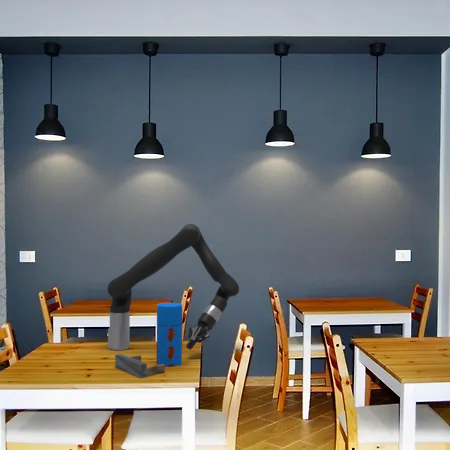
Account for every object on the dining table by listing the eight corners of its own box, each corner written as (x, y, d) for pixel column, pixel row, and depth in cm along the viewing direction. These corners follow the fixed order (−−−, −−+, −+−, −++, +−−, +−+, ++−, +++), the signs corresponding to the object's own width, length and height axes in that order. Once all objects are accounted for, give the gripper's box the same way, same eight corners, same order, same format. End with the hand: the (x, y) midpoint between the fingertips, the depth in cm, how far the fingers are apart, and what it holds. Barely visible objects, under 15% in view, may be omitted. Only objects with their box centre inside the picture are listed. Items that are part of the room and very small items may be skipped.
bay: (139, 362, 229) (139, 350, 228) (164, 372, 214) (164, 359, 214) (115, 366, 221) (115, 354, 221) (140, 377, 207) (140, 365, 207)
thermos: (158, 367, 221) (158, 307, 220) (154, 360, 231) (155, 303, 231) (184, 365, 224) (184, 306, 223) (179, 359, 234) (180, 302, 234)
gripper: (196, 309, 245) (174, 340, 237) (214, 314, 235) (192, 346, 227) (205, 320, 248) (183, 350, 241) (223, 324, 238) (202, 356, 231)
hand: (188, 348), depth 234 cm, fingers closed
